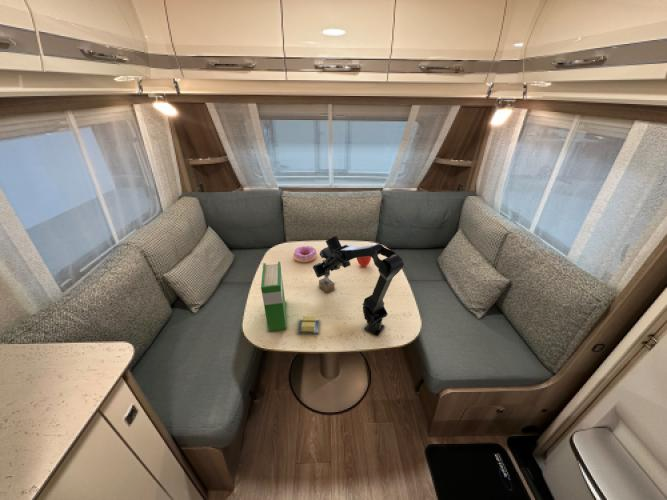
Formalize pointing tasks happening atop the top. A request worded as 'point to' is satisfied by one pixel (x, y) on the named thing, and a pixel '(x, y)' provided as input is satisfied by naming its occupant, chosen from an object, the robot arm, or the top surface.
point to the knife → (326, 275)
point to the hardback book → (273, 296)
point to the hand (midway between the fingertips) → (324, 269)
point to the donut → (305, 250)
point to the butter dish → (309, 325)
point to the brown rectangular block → (326, 285)
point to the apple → (364, 261)
